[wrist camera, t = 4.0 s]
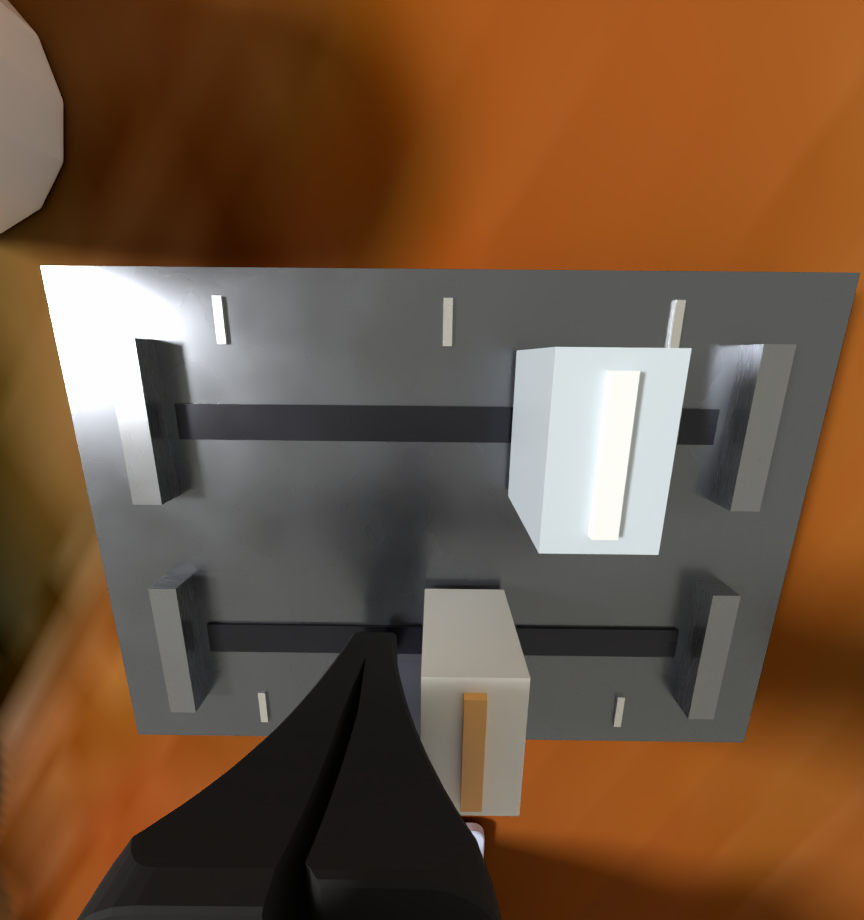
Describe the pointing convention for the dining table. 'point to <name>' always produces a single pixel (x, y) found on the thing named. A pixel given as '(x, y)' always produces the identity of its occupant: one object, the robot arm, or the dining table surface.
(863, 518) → the dining table surface
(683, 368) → the fader bluegrey
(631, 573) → the console
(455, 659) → the fader cream
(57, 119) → the white cup
